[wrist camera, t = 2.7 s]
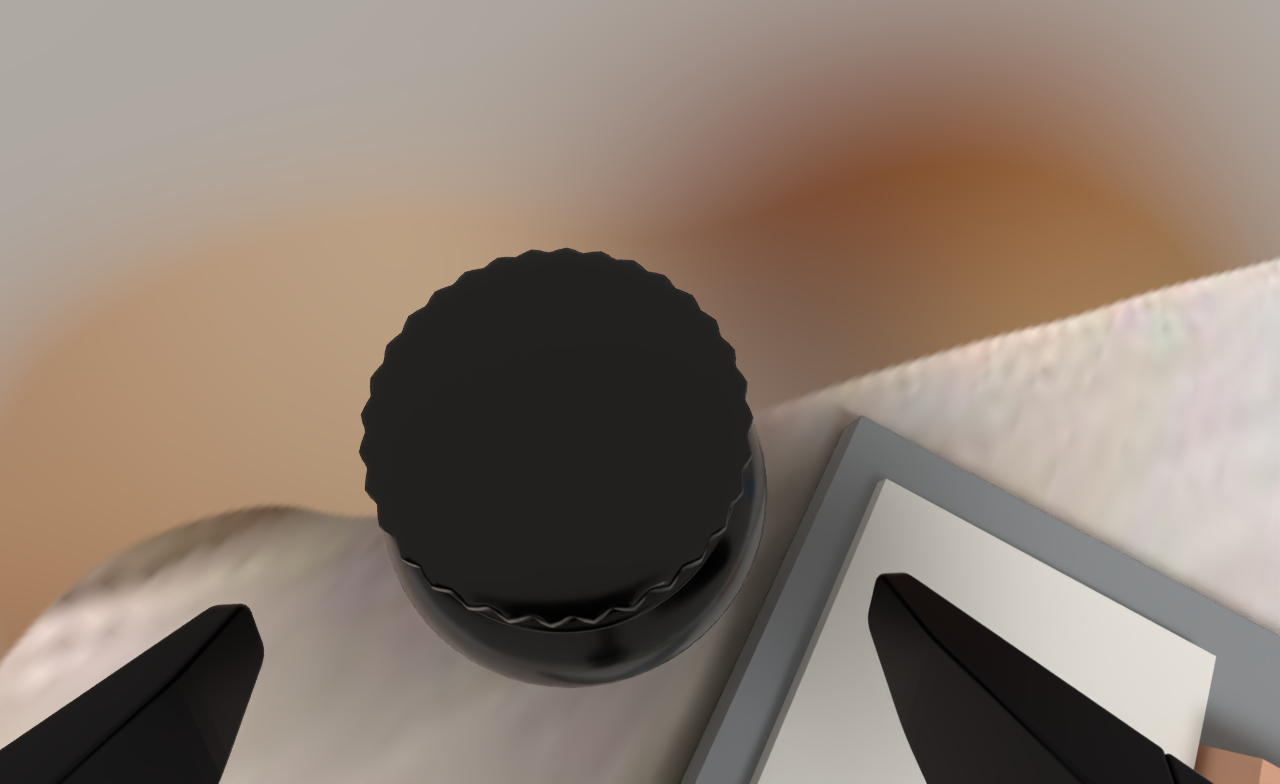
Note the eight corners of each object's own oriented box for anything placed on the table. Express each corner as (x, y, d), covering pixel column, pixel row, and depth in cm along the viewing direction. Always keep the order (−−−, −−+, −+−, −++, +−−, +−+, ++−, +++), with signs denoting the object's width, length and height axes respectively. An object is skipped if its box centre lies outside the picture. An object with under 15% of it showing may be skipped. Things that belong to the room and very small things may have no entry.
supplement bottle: (630, 388, 20) (663, 108, 9) (745, 572, 18) (969, 514, 7) (438, 493, 19) (184, 317, 7) (543, 704, 17) (421, 897, 6)
